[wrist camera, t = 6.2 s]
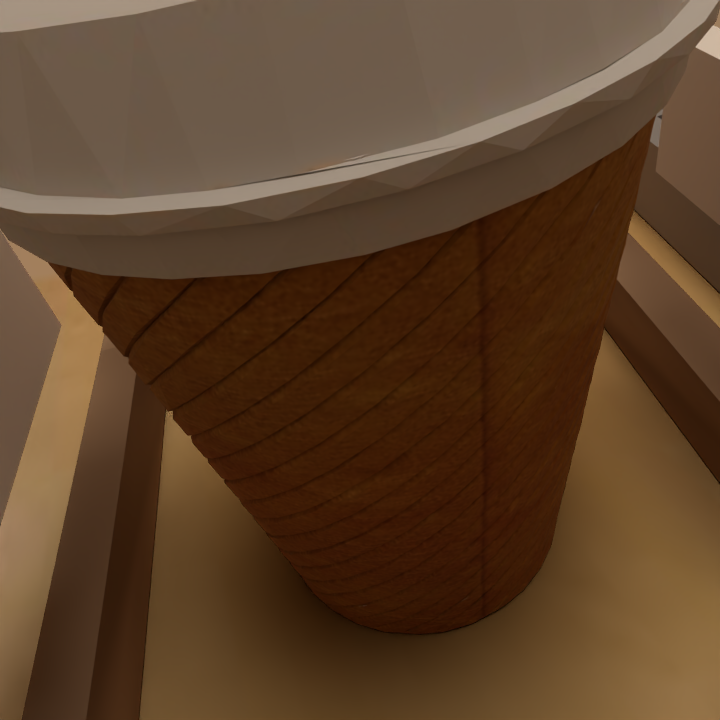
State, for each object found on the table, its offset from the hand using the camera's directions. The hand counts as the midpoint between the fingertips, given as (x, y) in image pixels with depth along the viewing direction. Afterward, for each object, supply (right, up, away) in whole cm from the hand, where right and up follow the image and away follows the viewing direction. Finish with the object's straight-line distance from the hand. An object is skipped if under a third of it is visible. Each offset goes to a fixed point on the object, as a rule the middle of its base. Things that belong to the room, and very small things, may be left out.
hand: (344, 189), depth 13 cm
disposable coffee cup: (+2, -7, +3) cm, 8 cm away
